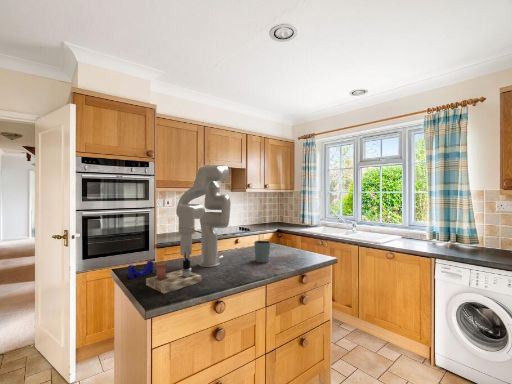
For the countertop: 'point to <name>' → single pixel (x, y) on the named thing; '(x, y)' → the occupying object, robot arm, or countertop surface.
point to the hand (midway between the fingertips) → (186, 268)
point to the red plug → (161, 271)
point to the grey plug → (186, 273)
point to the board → (172, 281)
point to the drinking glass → (262, 251)
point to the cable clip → (134, 274)
